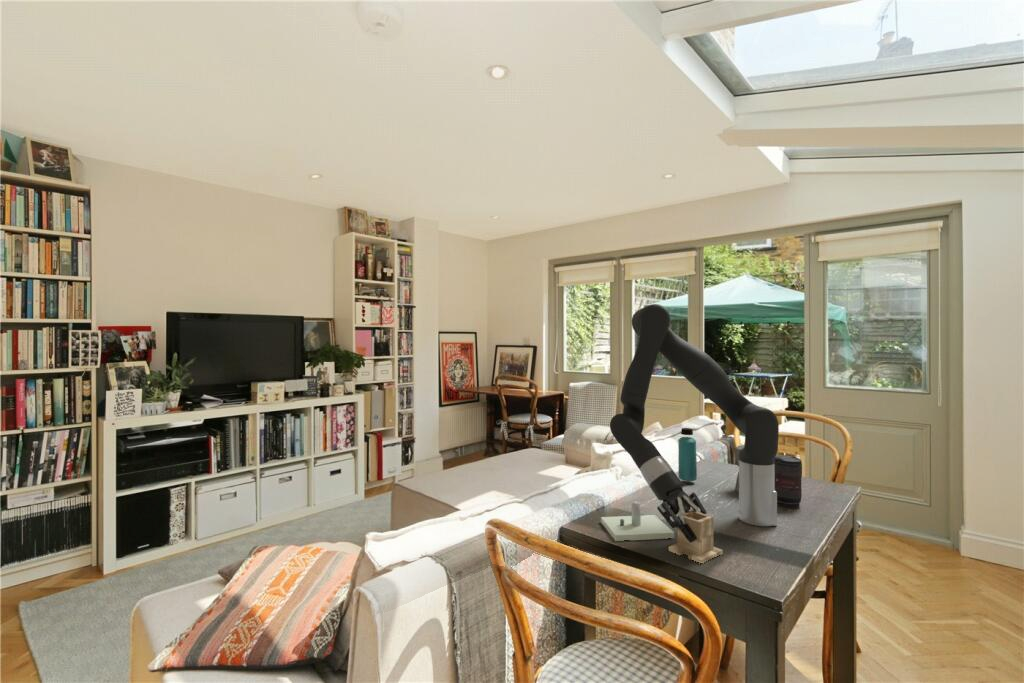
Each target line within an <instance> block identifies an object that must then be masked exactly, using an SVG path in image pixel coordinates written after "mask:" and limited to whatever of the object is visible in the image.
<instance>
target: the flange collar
mask: <svg viewBox="0 0 1024 683" xmlns="http://www.w3.org/2000/svg"><path fill="white" fill-rule="evenodd" d="M678 519H679V520H680V517H679V518H678ZM684 519H685V520H686V522H687V524H688V525H689V527H690V528H691V529H692V531H693V532H694V534H695V535H696V537H697V539H696V540H695V541H693V542H691V543H690V542H689V541H688V540H687V539H686V537H685V536H684V534H683V533H682V531H681V530H680V529H678V528H677V527H676V528H677V531H676V532H677V533H676V534H677V542H676V543H674V544H672V545H670V546H668V551H669V552H671V553H673V554H675V553H676V555H678V556H680V555H682V556H684V555H685V554H686V555H685V556H687V555H688V556H687V558H689V559H688V560H690V559H691V560H690V561H692V560H694V561H693V562H695V561H696V562H695V563H697V562H699V563H698V564H700V563H703V564H705V563H707V562H709V561H711V560H713V559H712V558H714V557H716V558H717V556H718V557H719V555H720V556H722V555H723V552H724V551H723V549H720V548H718V547H715V546H714V516H712V515H708V514H707V513H706V514H703V513H700V512H693V511H691V509H690V510H689V511H687V512H685V517H684ZM687 524H686V525H687ZM683 554H684V555H683ZM710 559H711V560H710ZM714 559H715V558H714ZM708 560H709V561H708ZM706 561H707V562H706ZM704 562H705V563H704Z"/></svg>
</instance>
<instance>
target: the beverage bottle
mask: <svg viewBox="0 0 1024 683" xmlns="http://www.w3.org/2000/svg"><path fill="white" fill-rule="evenodd" d="M680 434H681V435H683V436H681V437H680V438H678V440H677V442H678V444H677V445H678V458H677V459H678V467H677V468H678V473H677V475H678V478H679V479H680V481H681V480H682V481H684V482H695V481H696V480H697V478H698V475H697V474H698V469H697V464H698V460H697V441H696V439H695V438H694V437H691V436H693V435H694V430H693V428H691V427H690V428H689V427H682V428H681V431H680Z"/></svg>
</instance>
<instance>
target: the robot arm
mask: <svg viewBox="0 0 1024 683" xmlns="http://www.w3.org/2000/svg"><path fill="white" fill-rule="evenodd" d="M670 325H671V315H670V312H669V311H668V309H667V308H666V307H665V306H664V305H661V304H658V303H653V304H648V305H646V306H644V307H642V308H640V309H638V310H637V311H635V312H634V314H633V315H632V317H631V327H632V329H633V331H634V332H635V333H636V335H637V336H638V337H639V339H638V343H637V347H636V351H635V353H634V356H633V358H632V361H631V363H630V365H629V366H628V369H627V372H626V374H625V377H624V381H623V385H622V388H621V394H620V399H619V400H620V403H621V404H622V406H623V409H622V413H618V414H615V415H614V416H612V417H611V419H610V421H609V429H610V432H611V434H612V436H613V437H614V439H615V440H616V441H617V442H618V444H619V445H620V446H621V447H622V448H623V449H624V450H625V451H626V452H627V453H628V454H629V455H630V457H631V459H632V460H633V462H634V464H635V465H636V466H637V468H638V469H639V471H640V473H641V475H642V477H643V479H644V480H645V482H646V484H648V487H649V488H650V489H651V491H652V493H653V494H654V495H655V497H656V498H657V500H658V501H662V502H661V503H660V504H659V505H658V506H657V508H656V509H657V511H658V512H659V513H660V514H661V516H662V517H663V518H664V519H665V521H666V522H667V523H668V524H669V526H670V527H671V529H675V528H678V529H680V530H681V531H682V533H683V534H684V536H685V537H686V539H687V540H688V541H689V542H690V543H691V542H693V541H695V540H696V539H697V537H696V535H695V534H694V532H693V531H692V529H691V528H690V527H689V525H688V524H687V522H686V520H685V519H684V517H685V512H687V511H690V510H691V511H693V512H700V513H703V514H706V515H707V513H708V512H707V510H706V508H705V507H704V505H703V504H702V501H700V499H699V497H698V496H697V494H696V493H695V492H691V493H690V494H688V493H686V492H685V491H684V489H683V487H684V484H683V482H682V481H681V479H679V475H678V474H676V472H675V471H674V469H673V468H672V466H671V465H670V464H669V463H668V461H667V460H666V459H665V458H664V457H663V456H662V454H661V453H660V451H659V450H658V449H657V447H656V446H655V444H654V443H653V442H652V441H651V440H649V439H648V438H646V437H645V436H644V435H643V434H642V433H643V430H644V425H645V414H646V413H645V410H646V409H645V405H646V400H647V397H648V392H649V387H650V382H651V379H652V375H653V372H654V369H655V368H654V367H655V364H656V361H657V358H658V355H659V353H660V354H661V355H662V357H664V358H665V359H666V360H667V361H668V362H669V363H670V364H671V365H672V366H673V367H674V368H675V369H676V370H677V371H678V372H679V373H680V374H681V375H682V376H683V377H684V378H685V379H686V380H687V381H688V382H689V383H690V384H691V385H692V386H694V388H696V390H698V391H699V392H700V393H701V394H702V395H704V396H705V397H706V398H707V399H708V400H709V401H711V402H712V403H713V404H714V405H716V406H717V407H718V408H719V409H720V410H721V411H722V412H723V413H724V414H725V415H726V417H727V418H728V419H729V420H730V421H731V423H732V424H733V425H734V426H735V427H736V429H737V430H738V431H740V433H742V434H743V435H745V436H744V445H745V446H744V448H743V449H741V450H740V451H739V466H738V472H739V492H738V519H739V521H741V522H743V523H745V524H748V525H752V526H756V527H771V526H772V527H773V526H774V527H775V526H778V505H777V492H776V491H775V456H776V455H778V451H779V431H780V429H779V428H780V427H779V426H780V425H779V420H778V417H777V415H776V413H774V412H773V411H772V410H771V409H769V408H766V407H763V406H759V405H756V404H755V403H753V402H751V401H750V400H749V399H748V398H746V397H745V396H744V394H742V393H740V392H739V391H738V390H737V388H736V387H735V386H734V385H733V383H732V381H731V380H730V378H729V376H728V375H727V373H726V372H725V371H724V369H723V368H722V367H721V366H720V365H719V364H718V363H717V362H716V361H715V360H714V359H713V358H712V357H711V356H710V355H709V354H708V353H706V352H705V351H703V350H702V349H701V348H699V347H697V346H696V345H693V344H691V343H690V342H688V341H686V340H684V339H683V338H681V337H680V336H678V335H677V334H676V333H675V332H674V331H673V330H672V329H671V328H670ZM698 508H699V509H698ZM679 517H680V520H679V519H678V518H679ZM671 518H672V519H671ZM686 524H687V525H686Z"/></svg>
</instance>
